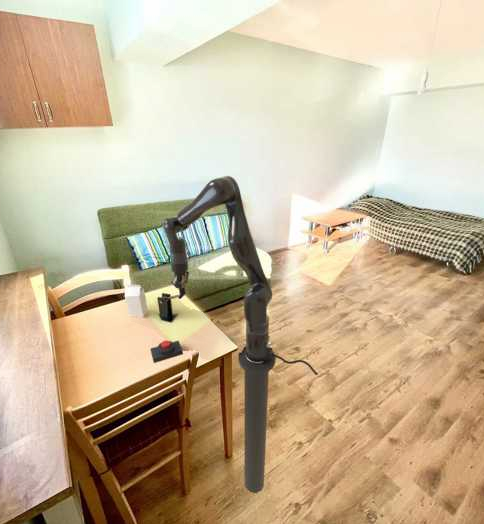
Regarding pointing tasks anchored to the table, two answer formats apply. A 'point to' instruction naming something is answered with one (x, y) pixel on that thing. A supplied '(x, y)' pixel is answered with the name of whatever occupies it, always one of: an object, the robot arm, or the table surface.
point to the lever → (173, 297)
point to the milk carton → (136, 301)
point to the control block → (166, 352)
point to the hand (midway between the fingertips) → (182, 293)
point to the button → (165, 344)
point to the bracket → (166, 309)
